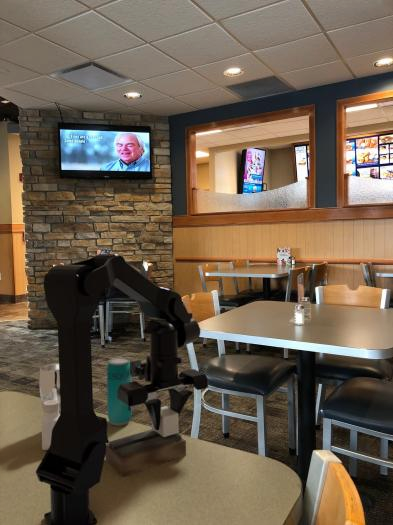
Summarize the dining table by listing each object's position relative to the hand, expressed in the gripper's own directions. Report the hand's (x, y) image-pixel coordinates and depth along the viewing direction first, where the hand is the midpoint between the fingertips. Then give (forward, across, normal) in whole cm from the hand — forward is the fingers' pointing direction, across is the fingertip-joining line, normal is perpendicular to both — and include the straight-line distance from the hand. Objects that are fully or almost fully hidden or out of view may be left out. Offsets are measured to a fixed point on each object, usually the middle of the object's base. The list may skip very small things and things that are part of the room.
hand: (164, 427), depth 89 cm
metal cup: (+5, +16, -23) cm, 28 cm away
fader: (+2, 0, 0) cm, 2 cm away
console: (+5, +4, 0) cm, 7 cm away
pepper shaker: (+5, +18, -16) cm, 25 cm away
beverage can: (+5, +2, -19) cm, 20 cm away
